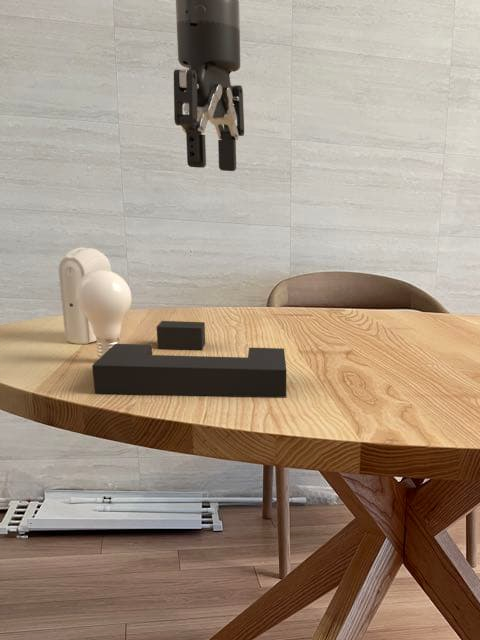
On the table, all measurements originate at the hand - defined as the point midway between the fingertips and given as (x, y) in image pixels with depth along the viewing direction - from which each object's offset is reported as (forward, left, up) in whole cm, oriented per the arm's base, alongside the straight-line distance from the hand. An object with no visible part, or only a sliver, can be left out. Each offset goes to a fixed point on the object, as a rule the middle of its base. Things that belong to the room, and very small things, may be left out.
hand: (212, 169), depth 107 cm
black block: (-5, +3, -23) cm, 24 cm away
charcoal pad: (-1, -22, -23) cm, 32 cm away
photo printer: (-18, +7, -23) cm, 30 cm away
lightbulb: (-13, -11, -23) cm, 29 cm away
